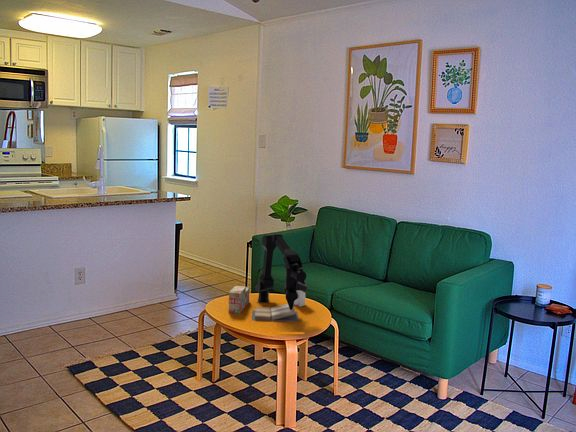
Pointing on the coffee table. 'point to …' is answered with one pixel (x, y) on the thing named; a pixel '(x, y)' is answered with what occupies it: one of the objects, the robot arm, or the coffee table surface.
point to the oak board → (262, 313)
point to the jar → (300, 298)
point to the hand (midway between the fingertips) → (290, 306)
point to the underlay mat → (288, 318)
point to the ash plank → (281, 311)
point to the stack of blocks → (238, 299)
